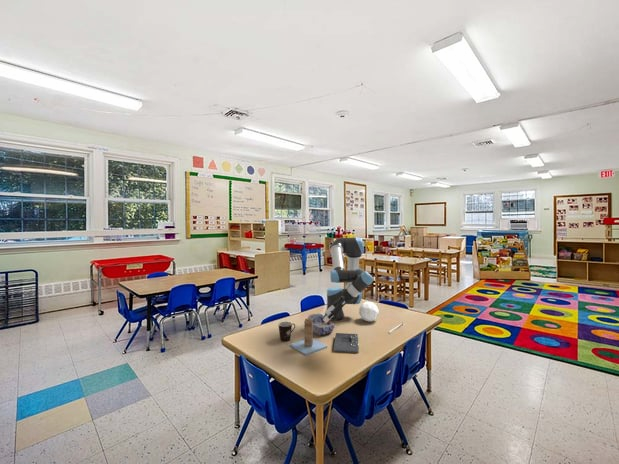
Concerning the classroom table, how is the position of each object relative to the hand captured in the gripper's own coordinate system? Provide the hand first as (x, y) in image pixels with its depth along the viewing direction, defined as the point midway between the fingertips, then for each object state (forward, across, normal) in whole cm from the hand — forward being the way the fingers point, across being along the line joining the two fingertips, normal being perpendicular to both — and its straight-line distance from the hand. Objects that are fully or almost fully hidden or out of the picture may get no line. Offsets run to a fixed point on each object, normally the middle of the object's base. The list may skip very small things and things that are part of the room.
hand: (325, 317), depth 172 cm
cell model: (+18, +25, -9) cm, 32 cm away
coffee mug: (+31, +9, +5) cm, 33 cm away
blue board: (+20, 0, -6) cm, 21 cm away
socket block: (+4, +6, -22) cm, 23 cm away
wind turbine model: (-19, +42, -47) cm, 65 cm away
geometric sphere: (-7, +50, -33) cm, 61 cm away
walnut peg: (+20, 0, -5) cm, 20 cm away
